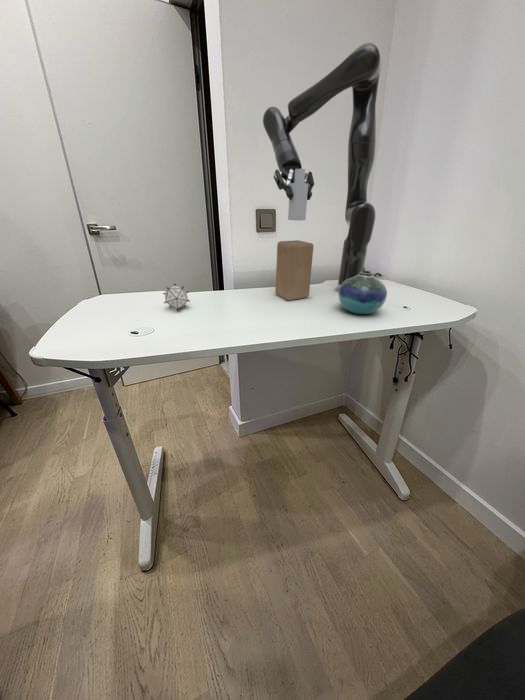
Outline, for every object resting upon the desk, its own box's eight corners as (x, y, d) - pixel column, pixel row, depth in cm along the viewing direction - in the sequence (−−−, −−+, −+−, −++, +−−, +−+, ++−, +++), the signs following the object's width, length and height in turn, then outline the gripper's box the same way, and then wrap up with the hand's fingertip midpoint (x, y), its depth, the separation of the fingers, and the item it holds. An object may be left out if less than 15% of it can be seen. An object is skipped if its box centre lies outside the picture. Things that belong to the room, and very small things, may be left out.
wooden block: (287, 301, 108) (291, 244, 98) (274, 294, 115) (276, 241, 106) (309, 298, 112) (314, 243, 102) (295, 291, 120) (299, 239, 110)
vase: (365, 302, 108) (372, 266, 102) (392, 317, 95) (402, 276, 89) (328, 305, 104) (333, 267, 98) (351, 321, 91) (358, 278, 85)
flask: (305, 219, 103) (309, 170, 96) (305, 220, 98) (309, 168, 91) (289, 219, 104) (291, 170, 97) (287, 220, 99) (290, 168, 92)
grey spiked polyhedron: (185, 318, 100) (199, 297, 96) (162, 316, 94) (177, 293, 89) (175, 300, 104) (189, 279, 99) (153, 296, 97) (167, 274, 93)
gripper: (271, 147, 95) (284, 188, 91) (310, 150, 100) (324, 189, 95) (265, 167, 102) (277, 206, 98) (301, 169, 106) (314, 206, 102)
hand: (300, 197), depth 96 cm, fingers closed on flask, 6 cm apart
